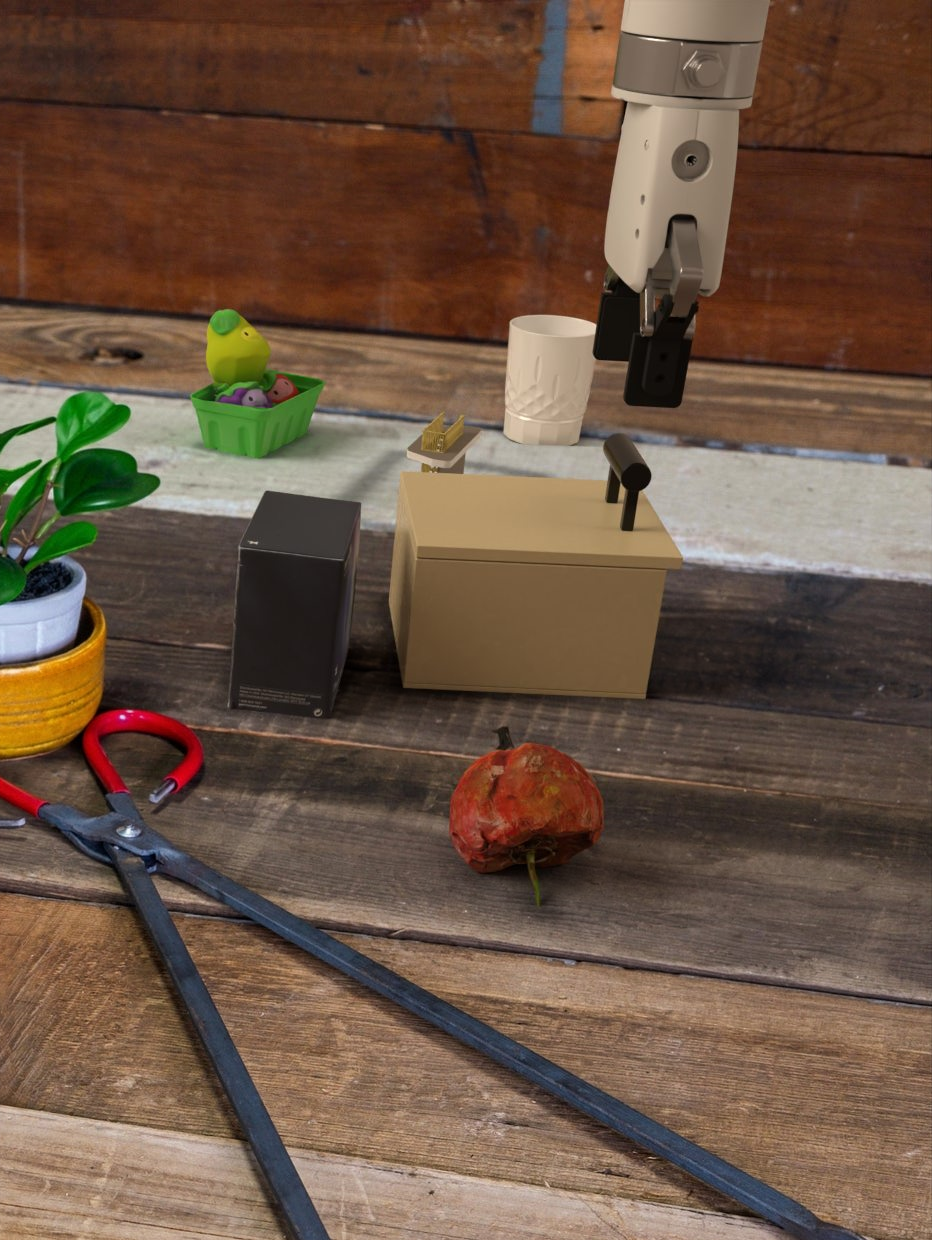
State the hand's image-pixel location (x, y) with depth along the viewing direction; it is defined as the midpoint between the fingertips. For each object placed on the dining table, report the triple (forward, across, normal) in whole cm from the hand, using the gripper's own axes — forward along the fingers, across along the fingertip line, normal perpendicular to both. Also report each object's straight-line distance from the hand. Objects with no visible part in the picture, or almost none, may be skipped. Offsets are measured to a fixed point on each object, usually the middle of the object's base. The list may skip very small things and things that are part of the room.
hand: (633, 381), depth 99 cm
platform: (+18, +29, +7) cm, 35 cm away
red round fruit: (+18, -27, +8) cm, 33 cm away
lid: (+9, 0, +5) cm, 10 cm away
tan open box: (+18, 0, +5) cm, 19 cm away
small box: (+18, -6, +19) cm, 27 cm away
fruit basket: (+19, +42, +22) cm, 51 cm away
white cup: (+18, +48, -4) cm, 52 cm away
